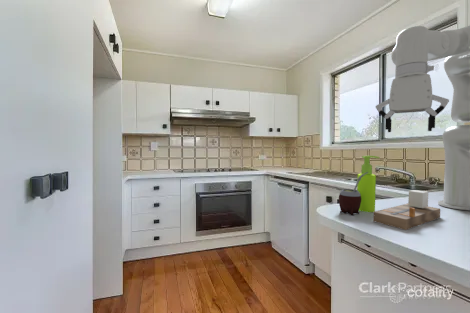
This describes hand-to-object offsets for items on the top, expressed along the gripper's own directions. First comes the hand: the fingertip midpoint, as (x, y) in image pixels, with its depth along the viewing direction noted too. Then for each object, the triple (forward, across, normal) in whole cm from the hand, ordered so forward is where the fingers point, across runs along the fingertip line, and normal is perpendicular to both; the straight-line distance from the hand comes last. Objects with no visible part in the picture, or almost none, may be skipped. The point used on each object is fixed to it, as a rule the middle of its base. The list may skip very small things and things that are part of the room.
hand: (408, 131), depth 70 cm
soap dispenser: (+28, +12, -11) cm, 32 cm away
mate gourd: (+28, +16, -3) cm, 32 cm away
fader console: (+28, 0, -6) cm, 28 cm away
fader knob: (+24, -3, -12) cm, 27 cm away
